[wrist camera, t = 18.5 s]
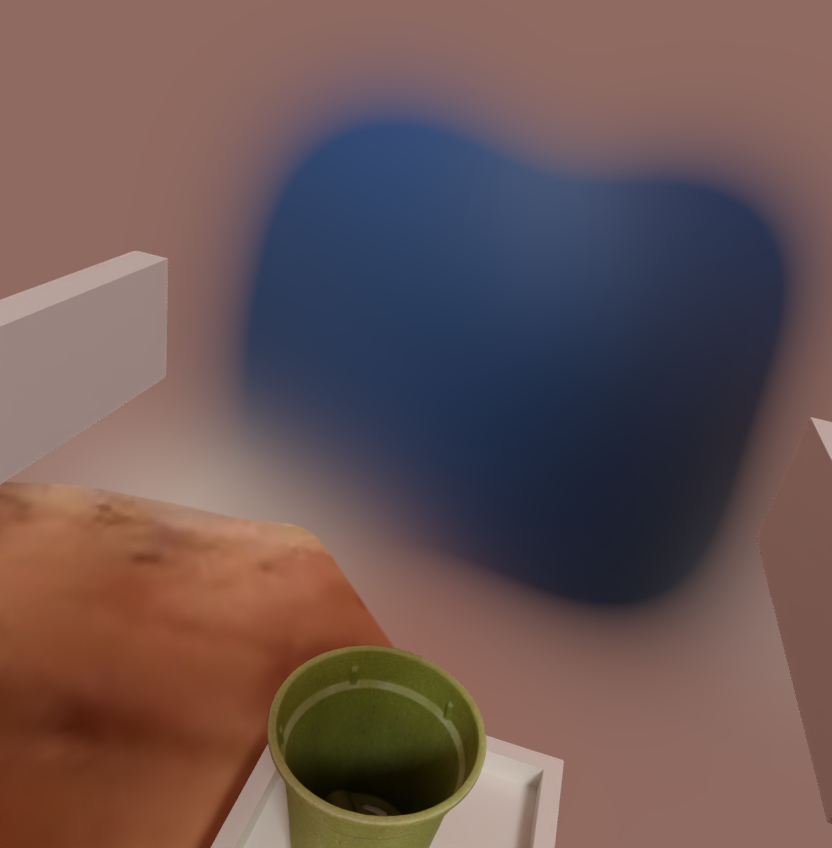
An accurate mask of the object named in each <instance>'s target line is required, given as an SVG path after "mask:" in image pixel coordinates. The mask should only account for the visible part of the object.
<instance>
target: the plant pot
mask: <svg viewBox="0 0 832 848" xmlns="http://www.w3.org/2000/svg"><path fill="white" fill-rule="evenodd" d="M267 737H268V746H269V750H270V754H271V757H272V760H273V763H274V765H275V767H276V769H277V771H278V772H279V774H280V776H281V778H282V779H283V780H284V782H285V784H286V793H287V804H288V815H289V829H290V843H291V848H429V847H430V845H431V843H432V841H433V839H434V837H435V835H436V833H437V831H438V829H439V827H440V824H441V822H442V820H443V818H444V816H445V815H446V814H447V813H448V812H449V811H450V810H451V809H453V808H454V807H455V806H456V805H457V804H459V803H460V802H461V801H462V800H463V799H464V798H465V797H466V796H467V795H468V793H469V792H470V791H471V789H472V788H473V786H474V785H475V783H476V781H477V780H478V777H479V775H480V773H481V770H482V767H483V764H484V760H485V756H486V748H487V740H486V732H485V727H484V723H483V719H482V716H481V714H480V711H479V709H478V707H477V705H476V703H475V702H474V700H473V699H472V697H471V695H470V694H469V693H468V691H467V690H466V689H465V688H464V687H463V686H462V685H461V684H460V683H459V682H458V681H457V680H456V679H454V678H453V677H452V676H451V675H450V674H449V673H448V672H447V671H445V670H444V669H442V668H441V667H439V666H438V665H437V664H435V663H433V662H431V661H429V660H427V659H425V658H423V657H420V656H417V655H414V654H412V653H410V652H407V651H404V650H400V649H395V648H388V647H383V646H373V645H364V646H353V647H344V648H339V649H335V650H332V651H329V652H325V653H323V654H320V655H318V656H316V657H314V658H312V659H310V660H308V661H306V662H305V663H304V664H302V665H301V666H299V667H298V668H297V669H296V670H294V671H293V672H292V673H291V674H290V675H289V676H288V677H287V678H286V680H285V681H284V682H283V683H282V685H281V686H280V688H279V690H278V691H277V693H276V695H275V697H274V699H273V702H272V704H271V707H270V711H269V716H268V725H267ZM364 804H369V805H372V806H374V807H378V808H380V809H382V810H383V811H385V812H386V813H387V816H380V815H377V814H376V813H374V812H371V811H369V810H367V809H363V808H362V806H363V805H364Z"/></svg>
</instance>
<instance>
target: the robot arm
mask: <svg viewBox="0 0 832 848" xmlns="http://www.w3.org/2000/svg"><path fill="white" fill-rule="evenodd" d="M167 281H168V258H164V257H160V256H156V255H151V254H148V253H144V252H139V251H133V252H130V253H127V254H124V255H122V256H119V257H116V258H113V259H111V260H108V261H105V262H103V263H100V264H97V265H94V266H91V267H89V268H86V269H83V270H80V271H77V272H75V273H72V274H70V275H66V276H64V277H61V278H58V279H56V280H53V281H50V282H47V283H45V284H42V285H39V286H36V287H33V288H31V289H28V290H25V291H23V292H20V293H17V294H14V295H11V296H9V297H6V298H3V299H1V300H0V485H1V484H2V483H4V482H5V481H7V480H8V479H10V478H12V477H13V476H14V475H16V474H18V473H19V472H21V471H22V470H24V469H25V468H27V467H28V466H30V465H31V464H33V463H35V462H36V461H37V460H39V459H41V458H42V457H44V456H45V455H47V454H48V453H50V452H51V451H53V450H54V449H56V448H57V447H59V446H61V445H62V444H64V443H65V442H67V441H68V440H70V439H71V438H73V437H74V436H75V435H77V434H79V433H80V432H82V431H83V430H85V429H86V428H88V427H90V426H91V425H93V424H94V423H96V422H97V421H99V420H100V419H102V418H103V417H105V416H106V415H108V414H110V413H111V412H113V411H114V410H116V409H117V408H119V407H120V406H122V405H123V404H125V403H126V402H128V401H129V400H131V399H132V398H134V397H136V396H137V395H139V394H140V393H142V392H143V391H145V390H146V389H148V388H149V387H151V386H152V385H154V384H155V383H157V382H159V381H160V380H162V379H163V378H165V377H166V344H167V285H168V283H167ZM757 542H758V546H759V549H760V554H761V558H762V562H763V566H764V570H765V574H766V578H767V582H768V586H769V590H770V594H771V598H772V602H773V606H774V610H775V614H776V618H777V622H778V626H779V630H780V634H781V638H782V642H783V646H784V650H785V654H786V658H787V662H788V666H789V670H790V674H791V678H792V682H793V686H794V690H795V694H796V698H797V702H798V706H799V710H800V714H801V718H802V722H803V726H804V730H805V734H806V738H807V742H808V746H809V750H810V754H811V758H812V762H813V766H814V770H815V774H816V778H817V782H818V786H819V790H820V794H821V798H822V802H823V806H824V810H825V814H826V818H827V822H828V823H831V824H832V422H827V421H824V420H820V419H815V418H812V417H810V420H809V422H808V424H807V426H806V429H805V431H804V433H803V435H802V437H801V440H800V442H799V445H798V446H797V449H796V451H795V453H794V455H793V458H792V460H791V462H790V464H789V467H788V469H787V471H786V473H785V476H784V478H783V480H782V482H781V485H780V487H779V489H778V491H777V494H776V496H775V498H774V500H773V503H772V505H771V507H770V509H769V511H768V514H767V516H766V519H765V520H764V523H763V525H762V527H761V530H760V532H759V534H758V536H757Z"/></svg>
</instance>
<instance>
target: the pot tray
mask: <svg viewBox="0 0 832 848" xmlns="http://www.w3.org/2000/svg"><path fill="white" fill-rule="evenodd" d="M486 740H487V748H486V756H485V760H484V764H483V767H482V770H481V773H480V775H479V777H478V780H477V781H476V783H475V785H474V786H473V788H472V789H471V791H470V792H469V793H468V795H467V796H466V797H465V798H464V799H463V800H462V801H461V802H460V803H459V804H457V805H456V806H455V807H454V808H453V809H451V810H450V811H449V812H448V813H447V814H446V815H445V816H444V818H443V820H442V822H441V824H440V827H439V829H438V831H437V833H436V835H435V837H434V839H433V841H432V843H431V845H430V847H429V848H555V838H556V829H557V820H558V811H559V801H560V792H561V783H562V773H563V764H564V761H563V760H561V759H557V758H554V757H551V756H548V755H545V754H542V753H539V752H536V751H533V750H530V749H526V748H524V747H521V746H517V745H515V744H511V743H508V742H505V741H502V740H499V739H496V738H493V737H490V736H487V735H486ZM362 808H363V809H367V810H369V811H371V812H374V813H376V814H377V815H380V816H387V813H386V812H385V811H383V810H382V809H380V808H378V807H374V806H372V805H369V804H364V805H363V806H362ZM211 848H291V843H290V829H289V815H288V804H287V793H286V784H285V782H284V780H283V779H282V778H281V776H280V774H279V772H278V771H277V769H276V767H275V765H274V763H273V760H272V757H271V754H270V750H269V746H268V744H267V746H266V748H265V750H264V752H263V753H262V755H261V757H260V759H259V761H258V762H257V764H256V766H255V768H254V770H253V772H252V773H251V775H250V777H249V779H248V781H247V782H246V784H245V786H244V788H243V790H242V791H241V793H240V795H239V797H238V799H237V801H236V802H235V804H234V806H233V808H232V810H231V811H230V813H229V815H228V817H227V819H226V820H225V822H224V824H223V826H222V828H221V830H220V831H219V833H218V835H217V837H216V839H215V840H214V842H213V844H212V846H211Z"/></svg>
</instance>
